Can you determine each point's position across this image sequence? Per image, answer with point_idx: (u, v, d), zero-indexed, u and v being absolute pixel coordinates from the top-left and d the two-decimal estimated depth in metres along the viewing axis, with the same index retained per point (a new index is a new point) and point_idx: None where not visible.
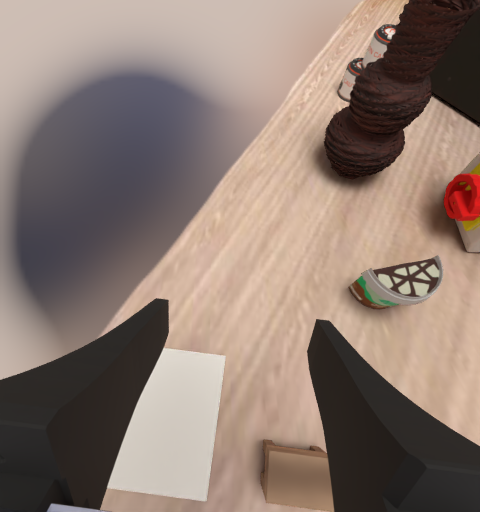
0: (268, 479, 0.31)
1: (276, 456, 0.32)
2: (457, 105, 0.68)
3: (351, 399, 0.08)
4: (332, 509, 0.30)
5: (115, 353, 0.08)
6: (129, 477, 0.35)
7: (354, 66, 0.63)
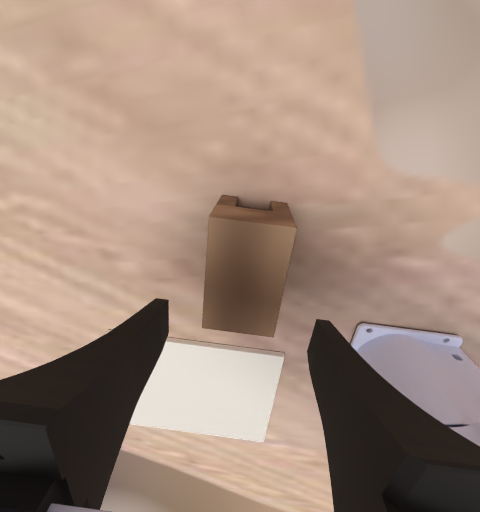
0: (243, 331, 0.18)
1: (209, 318, 0.18)
2: None
3: (351, 399, 0.08)
4: (292, 232, 0.15)
5: (115, 353, 0.08)
6: (255, 423, 0.30)
7: None
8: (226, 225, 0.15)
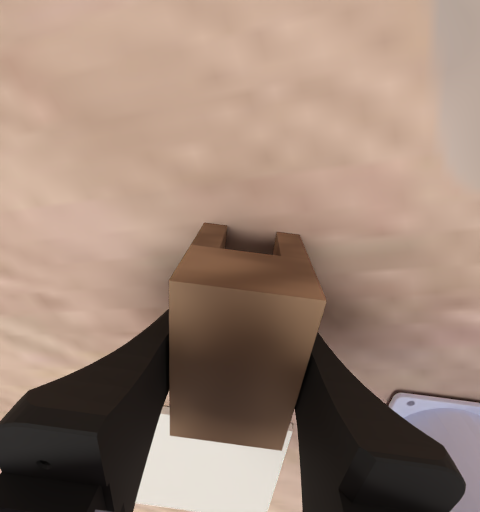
0: (233, 441, 0.12)
1: (180, 424, 0.11)
2: None
3: (319, 395, 0.08)
4: (317, 307, 0.08)
5: (147, 357, 0.08)
6: (254, 501, 0.24)
7: None
8: (201, 294, 0.08)
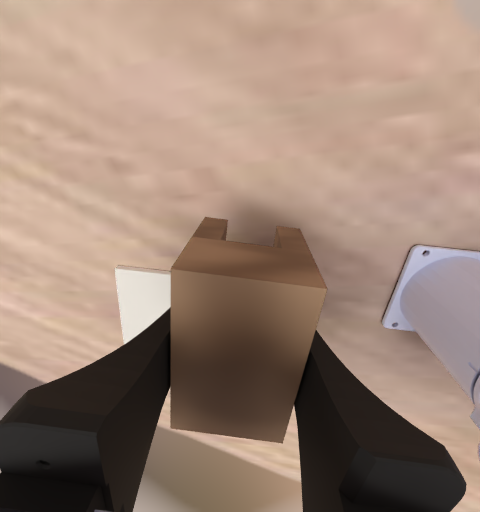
0: (234, 433, 0.12)
1: (181, 416, 0.11)
2: None
3: (319, 395, 0.08)
4: (318, 296, 0.08)
5: (146, 357, 0.08)
6: None
7: None
8: (202, 283, 0.08)
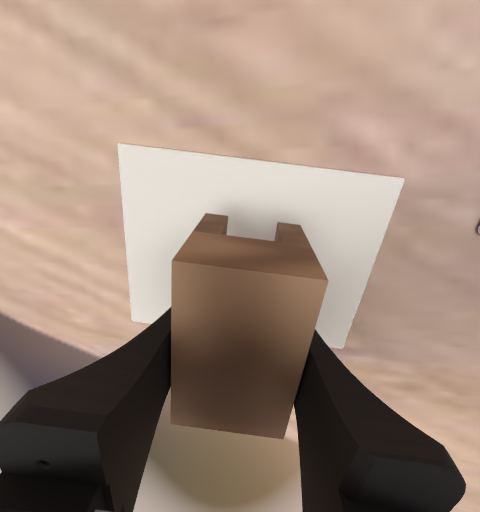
0: (235, 429, 0.12)
1: (182, 412, 0.11)
2: None
3: (319, 395, 0.08)
4: (319, 288, 0.08)
5: (147, 357, 0.08)
6: (337, 314, 0.21)
7: None
8: (203, 275, 0.08)
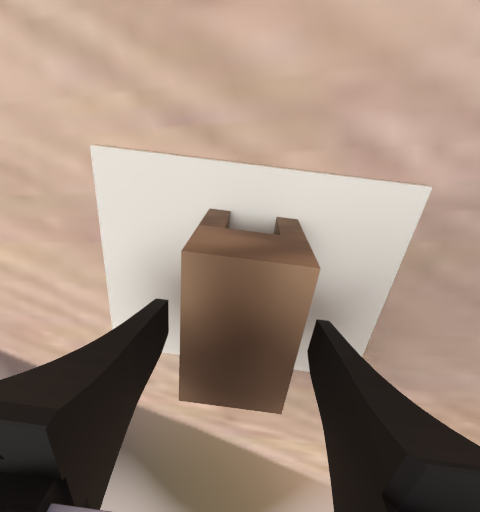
0: (237, 405, 0.13)
1: (189, 389, 0.12)
2: None
3: (351, 399, 0.08)
4: (312, 275, 0.09)
5: (115, 352, 0.08)
6: (347, 340, 0.18)
7: None
8: (209, 263, 0.10)
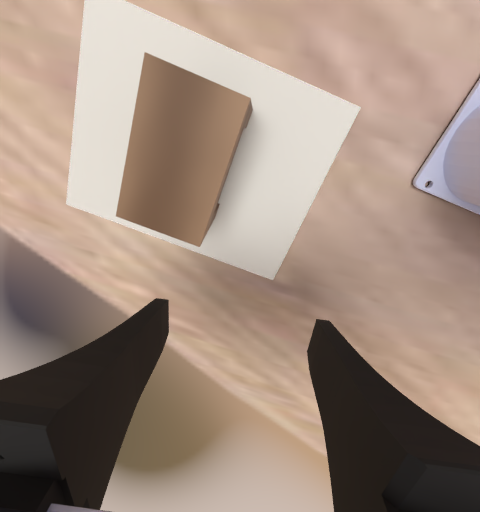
0: (165, 232, 0.15)
1: (126, 204, 0.14)
2: None
3: (351, 399, 0.08)
4: (243, 103, 0.12)
5: (115, 353, 0.08)
6: (274, 241, 0.21)
7: None
8: (165, 71, 0.12)
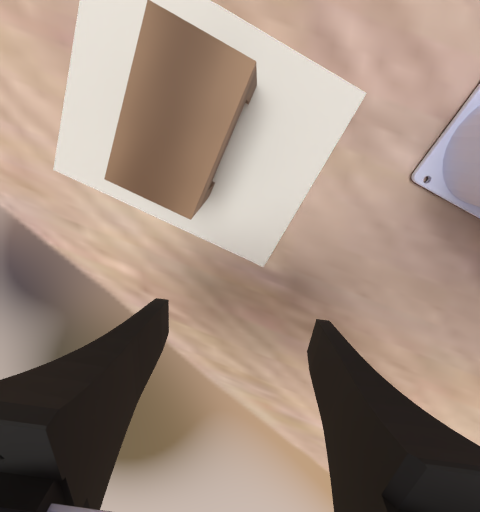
0: (155, 201, 0.14)
1: (117, 167, 0.14)
2: None
3: (351, 399, 0.08)
4: (248, 66, 0.12)
5: (115, 353, 0.08)
6: (267, 226, 0.21)
7: None
8: (168, 23, 0.11)
